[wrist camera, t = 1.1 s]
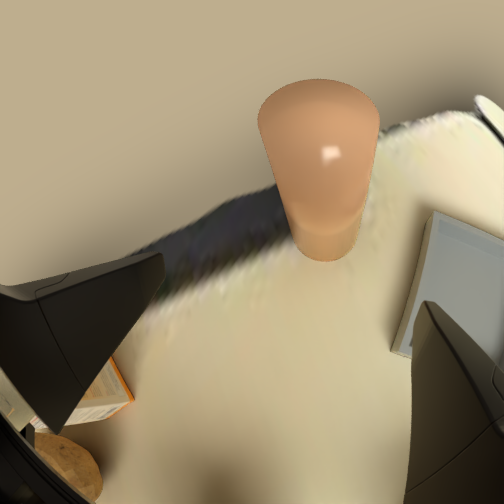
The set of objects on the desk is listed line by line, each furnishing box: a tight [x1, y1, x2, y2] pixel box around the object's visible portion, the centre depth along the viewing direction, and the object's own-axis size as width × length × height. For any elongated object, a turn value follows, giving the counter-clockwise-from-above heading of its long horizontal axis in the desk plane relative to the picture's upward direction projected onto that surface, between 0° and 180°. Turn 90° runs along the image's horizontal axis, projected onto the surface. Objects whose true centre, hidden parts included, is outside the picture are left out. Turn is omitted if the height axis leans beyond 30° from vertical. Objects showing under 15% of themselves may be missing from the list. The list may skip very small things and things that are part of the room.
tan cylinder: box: [258, 79, 380, 262], centre depth 17 cm, size 6×6×13 cm
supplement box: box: [30, 357, 134, 429], centre depth 18 cm, size 8×5×13 cm, turn 37°
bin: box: [390, 211, 504, 372], centre depth 17 cm, size 11×11×2 cm
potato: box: [35, 432, 103, 502], centre depth 17 cm, size 10×14×8 cm
